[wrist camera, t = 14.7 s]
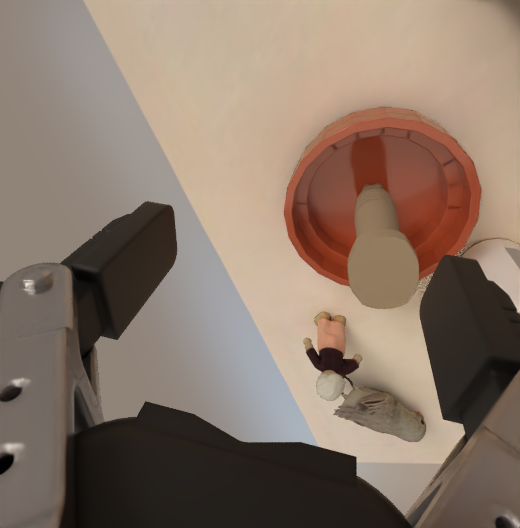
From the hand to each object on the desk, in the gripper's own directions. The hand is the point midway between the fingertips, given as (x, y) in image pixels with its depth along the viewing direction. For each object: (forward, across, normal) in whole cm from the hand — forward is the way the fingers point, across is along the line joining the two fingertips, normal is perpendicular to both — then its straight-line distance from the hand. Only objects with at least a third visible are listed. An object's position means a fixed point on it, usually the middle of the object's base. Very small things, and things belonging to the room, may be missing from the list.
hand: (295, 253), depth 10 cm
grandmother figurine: (+28, -6, +29) cm, 41 cm away
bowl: (+28, -6, +9) cm, 30 cm away
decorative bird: (+28, -16, +42) cm, 53 cm away
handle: (+28, -6, +9) cm, 30 cm away
